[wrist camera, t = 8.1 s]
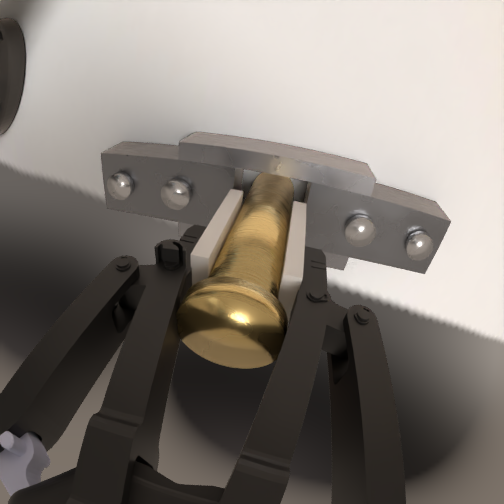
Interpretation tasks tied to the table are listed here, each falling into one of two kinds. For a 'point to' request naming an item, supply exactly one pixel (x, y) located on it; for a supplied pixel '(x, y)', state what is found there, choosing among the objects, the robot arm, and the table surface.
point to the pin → (244, 284)
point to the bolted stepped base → (283, 164)
